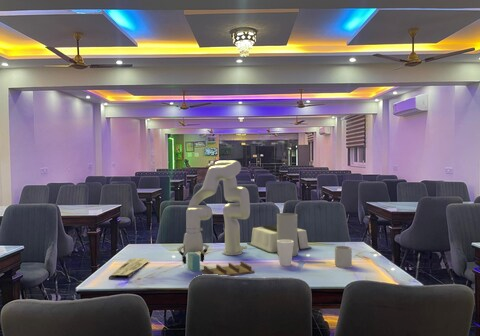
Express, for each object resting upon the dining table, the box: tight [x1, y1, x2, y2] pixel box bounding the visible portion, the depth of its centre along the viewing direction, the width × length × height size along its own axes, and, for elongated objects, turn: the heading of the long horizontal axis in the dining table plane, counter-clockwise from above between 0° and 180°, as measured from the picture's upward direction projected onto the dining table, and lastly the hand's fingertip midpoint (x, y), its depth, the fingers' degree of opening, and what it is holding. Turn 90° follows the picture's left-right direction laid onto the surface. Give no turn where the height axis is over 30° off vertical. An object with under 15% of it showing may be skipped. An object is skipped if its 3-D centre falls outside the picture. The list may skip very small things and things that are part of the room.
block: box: [187, 252, 201, 272], centre depth 201 cm, size 4×9×8 cm, turn 24°
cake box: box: [247, 224, 312, 254], centre depth 257 cm, size 35×33×12 cm
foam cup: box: [277, 240, 294, 267], centre depth 209 cm, size 10×9×13 cm
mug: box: [334, 245, 353, 269], centre depth 206 cm, size 11×10×10 cm
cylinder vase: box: [276, 212, 299, 258], centre depth 231 cm, size 12×12×25 cm
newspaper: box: [108, 257, 150, 279], centre depth 201 cm, size 35×12×4 cm, turn 0°
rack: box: [200, 260, 255, 277], centre depth 194 cm, size 24×14×3 cm, turn 114°
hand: (193, 262), depth 201 cm, fingers open, 9 cm apart
